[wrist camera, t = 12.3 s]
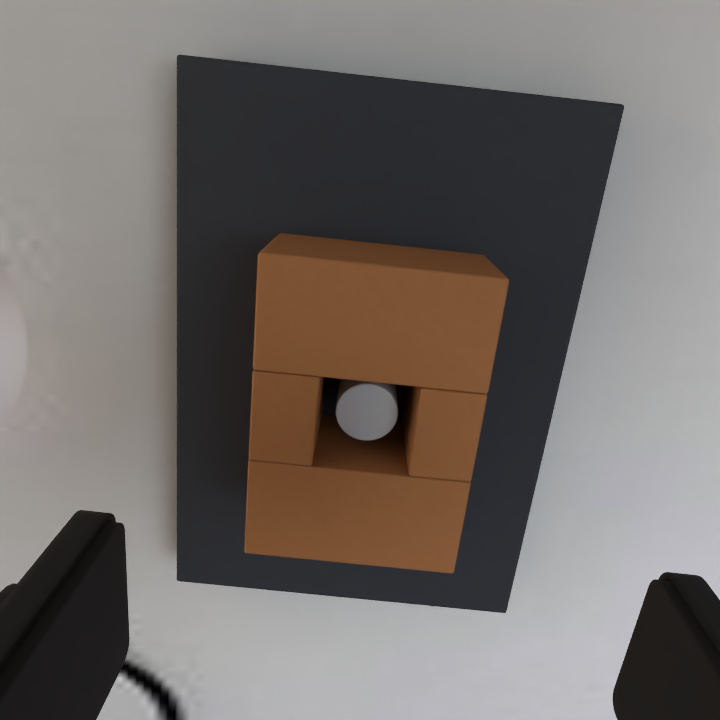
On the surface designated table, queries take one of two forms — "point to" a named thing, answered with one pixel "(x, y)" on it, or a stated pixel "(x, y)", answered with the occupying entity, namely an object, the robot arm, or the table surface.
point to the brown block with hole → (372, 364)
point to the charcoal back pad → (385, 226)
